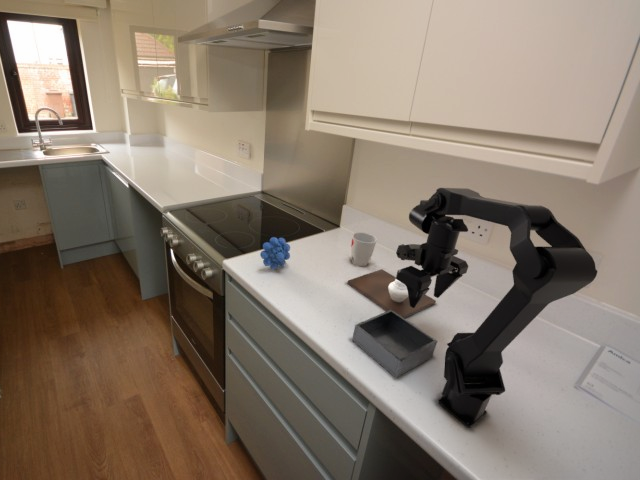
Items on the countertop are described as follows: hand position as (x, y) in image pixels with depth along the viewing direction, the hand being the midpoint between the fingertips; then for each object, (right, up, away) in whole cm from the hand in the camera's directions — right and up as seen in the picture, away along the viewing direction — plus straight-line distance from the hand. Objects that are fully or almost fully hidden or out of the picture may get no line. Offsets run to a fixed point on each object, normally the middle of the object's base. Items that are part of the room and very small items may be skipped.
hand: (424, 301), depth 81 cm
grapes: (-34, +3, +32) cm, 47 cm away
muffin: (+1, -4, +18) cm, 19 cm away
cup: (-3, +5, +40) cm, 40 cm away
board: (+1, -3, +23) cm, 23 cm away
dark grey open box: (-8, -12, +1) cm, 14 cm away
